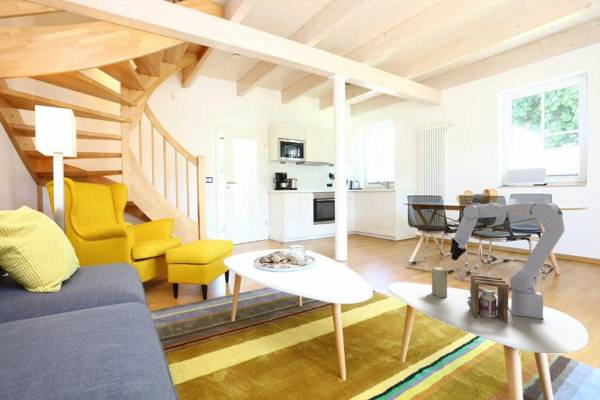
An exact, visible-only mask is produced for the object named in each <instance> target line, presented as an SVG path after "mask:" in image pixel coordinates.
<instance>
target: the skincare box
mask: <svg viewBox="0 0 600 400" xmlns="http://www.w3.org/2000/svg"><path fill="white" fill-rule="evenodd" d="M431 270H432V271H431V293H432V294H433V295H434V296H435V295H436V296H435V297H437V298H448V270H447V269H445V268H443V267H435V266H434V267H432V269H431Z"/></svg>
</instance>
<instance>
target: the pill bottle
mask: <svg viewBox="0 0 600 400" xmlns="http://www.w3.org/2000/svg"><path fill="white" fill-rule="evenodd" d="M482 293H483V294H481V295H480V310H479V314H480V315H481V316H484V317H486V318H491V319H492V318H496V317H497V297H496V295H495V294H496V293H495V290H494V289H490V288H485V289H482Z"/></svg>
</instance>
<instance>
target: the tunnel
mask: <svg viewBox="0 0 600 400" xmlns="http://www.w3.org/2000/svg"><path fill="white" fill-rule="evenodd" d="M509 285H510V284H508V283H506V281H505V280H503V277H497V276H489V275H488V276H487V275H479V274H478V275H477V274H471V275H470V287H471V294H470V299H469V300H470V305H469V309H470V310H471V313H472V315H473V317H474V318H476V319H479V310H478V302H479V288H480V286H485V287H486V286H487V287H496V288H497V295H496V296H497V297H496V299H497V312H496V314H498V316H499V317H500V319H501V320H502V322H503V323H506V324H507V323H509V321H508V320H509V318H508V317H509V309H508V307H509V290H510V288H509Z"/></svg>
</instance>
